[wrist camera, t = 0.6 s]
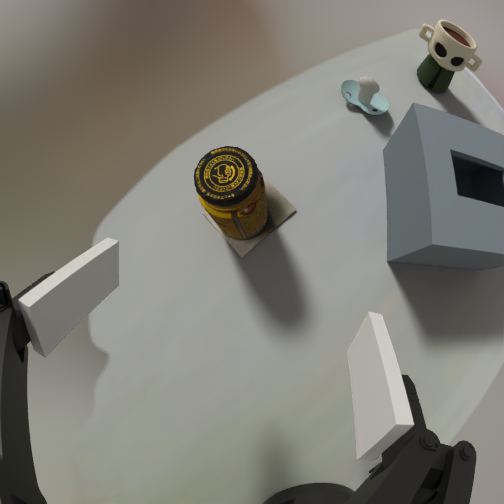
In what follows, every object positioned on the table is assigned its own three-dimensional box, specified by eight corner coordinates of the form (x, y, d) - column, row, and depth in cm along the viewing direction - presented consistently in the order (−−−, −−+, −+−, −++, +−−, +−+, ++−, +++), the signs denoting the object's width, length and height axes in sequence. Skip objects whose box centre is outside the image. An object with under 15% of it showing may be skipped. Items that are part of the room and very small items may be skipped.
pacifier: (350, 79, 36) (334, 99, 35) (359, 52, 30) (341, 70, 29) (391, 103, 35) (378, 125, 34) (405, 77, 29) (392, 99, 28)
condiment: (202, 213, 34) (168, 172, 22) (255, 169, 34) (244, 111, 23) (242, 258, 33) (222, 235, 21) (296, 210, 33) (305, 164, 21)
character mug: (400, 75, 35) (424, 22, 23) (407, 57, 36) (429, 8, 23) (453, 109, 34) (488, 64, 21) (457, 88, 34) (486, 45, 22)
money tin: (481, 270, 29) (533, 258, 19) (387, 261, 31) (432, 244, 20) (471, 171, 32) (512, 139, 21) (383, 150, 33) (413, 102, 23)
